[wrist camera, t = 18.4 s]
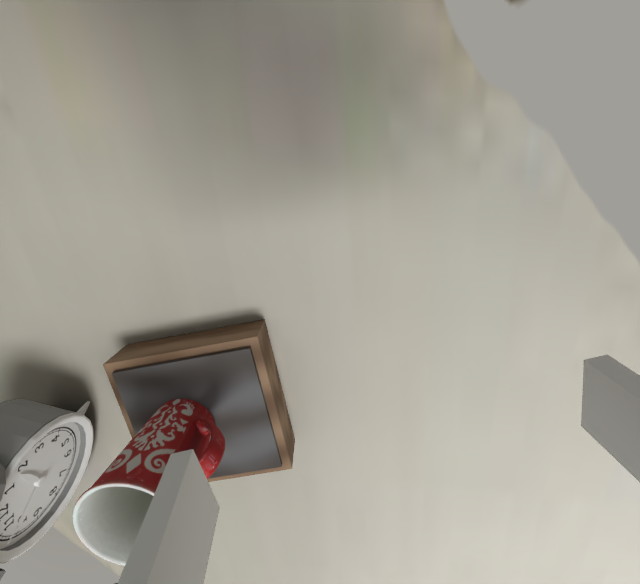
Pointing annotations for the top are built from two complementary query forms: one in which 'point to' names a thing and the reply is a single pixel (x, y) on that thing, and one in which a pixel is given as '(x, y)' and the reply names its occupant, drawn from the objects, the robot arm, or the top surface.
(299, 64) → the top surface
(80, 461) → the alarm clock
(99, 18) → the top surface
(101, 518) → the mug
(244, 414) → the walnut stand
